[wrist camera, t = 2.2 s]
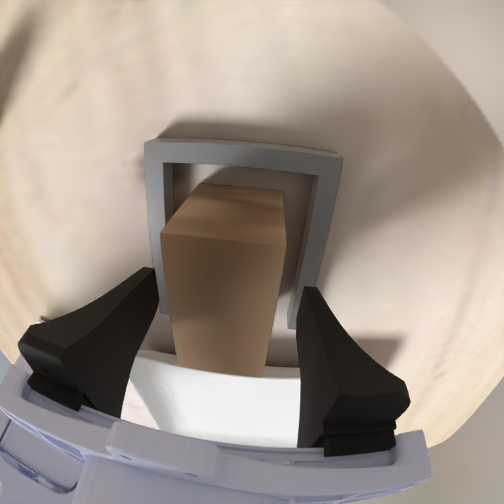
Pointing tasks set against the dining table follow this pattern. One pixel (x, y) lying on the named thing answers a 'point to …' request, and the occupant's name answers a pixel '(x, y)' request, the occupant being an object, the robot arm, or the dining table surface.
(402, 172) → the dining table surface
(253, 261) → the tan cardboard box
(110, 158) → the dining table surface
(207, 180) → the dining table surface
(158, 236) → the bay
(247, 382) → the salad plate
